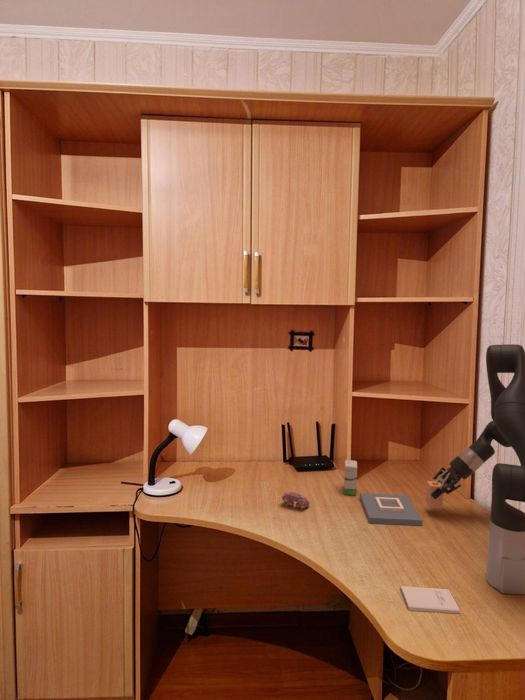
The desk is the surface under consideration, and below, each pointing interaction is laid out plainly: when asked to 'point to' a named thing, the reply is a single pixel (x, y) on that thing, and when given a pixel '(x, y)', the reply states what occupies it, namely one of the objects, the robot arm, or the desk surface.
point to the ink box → (350, 477)
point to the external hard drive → (429, 600)
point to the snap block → (429, 499)
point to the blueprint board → (390, 509)
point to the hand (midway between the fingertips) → (430, 493)
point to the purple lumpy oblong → (295, 499)
